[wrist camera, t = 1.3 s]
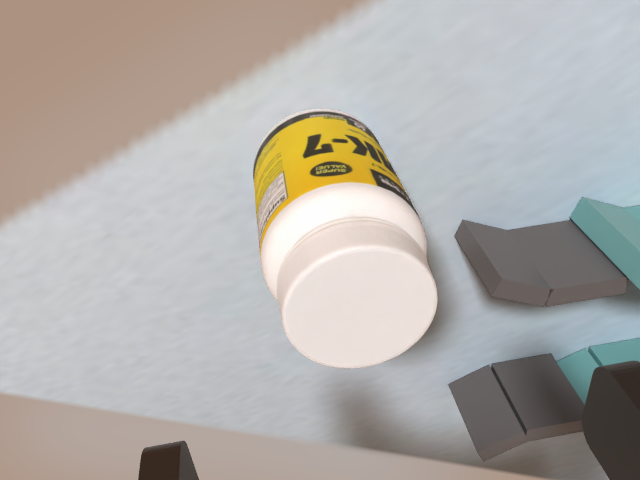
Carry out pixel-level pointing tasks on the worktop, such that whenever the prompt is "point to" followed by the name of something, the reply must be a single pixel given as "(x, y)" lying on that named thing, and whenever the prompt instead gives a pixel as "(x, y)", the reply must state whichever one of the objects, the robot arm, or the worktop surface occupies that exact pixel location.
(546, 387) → the pair of grey blocks
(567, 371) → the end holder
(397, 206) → the supplement bottle
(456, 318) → the worktop surface
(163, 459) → the robot arm
